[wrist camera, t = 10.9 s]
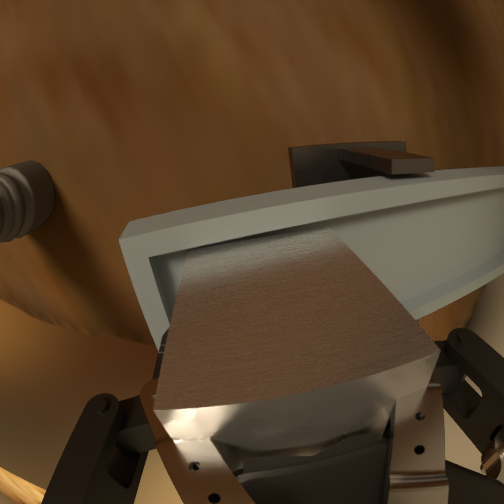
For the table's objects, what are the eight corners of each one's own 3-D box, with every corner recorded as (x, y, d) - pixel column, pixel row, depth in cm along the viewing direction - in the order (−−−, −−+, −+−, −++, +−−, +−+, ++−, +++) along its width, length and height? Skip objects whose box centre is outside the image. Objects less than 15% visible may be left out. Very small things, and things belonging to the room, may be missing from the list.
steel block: (188, 249, 12) (152, 409, 5) (328, 226, 12) (440, 350, 5) (216, 354, 15) (219, 499, 7) (329, 334, 15) (387, 463, 7)
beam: (129, 221, 13) (118, 239, 11) (505, 166, 18) (527, 172, 16) (176, 362, 17) (177, 393, 14) (495, 255, 22) (514, 266, 19)
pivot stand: (288, 147, 21) (329, 157, 13) (398, 141, 22) (471, 153, 13) (300, 284, 26) (333, 352, 18) (396, 265, 27) (450, 316, 18)
